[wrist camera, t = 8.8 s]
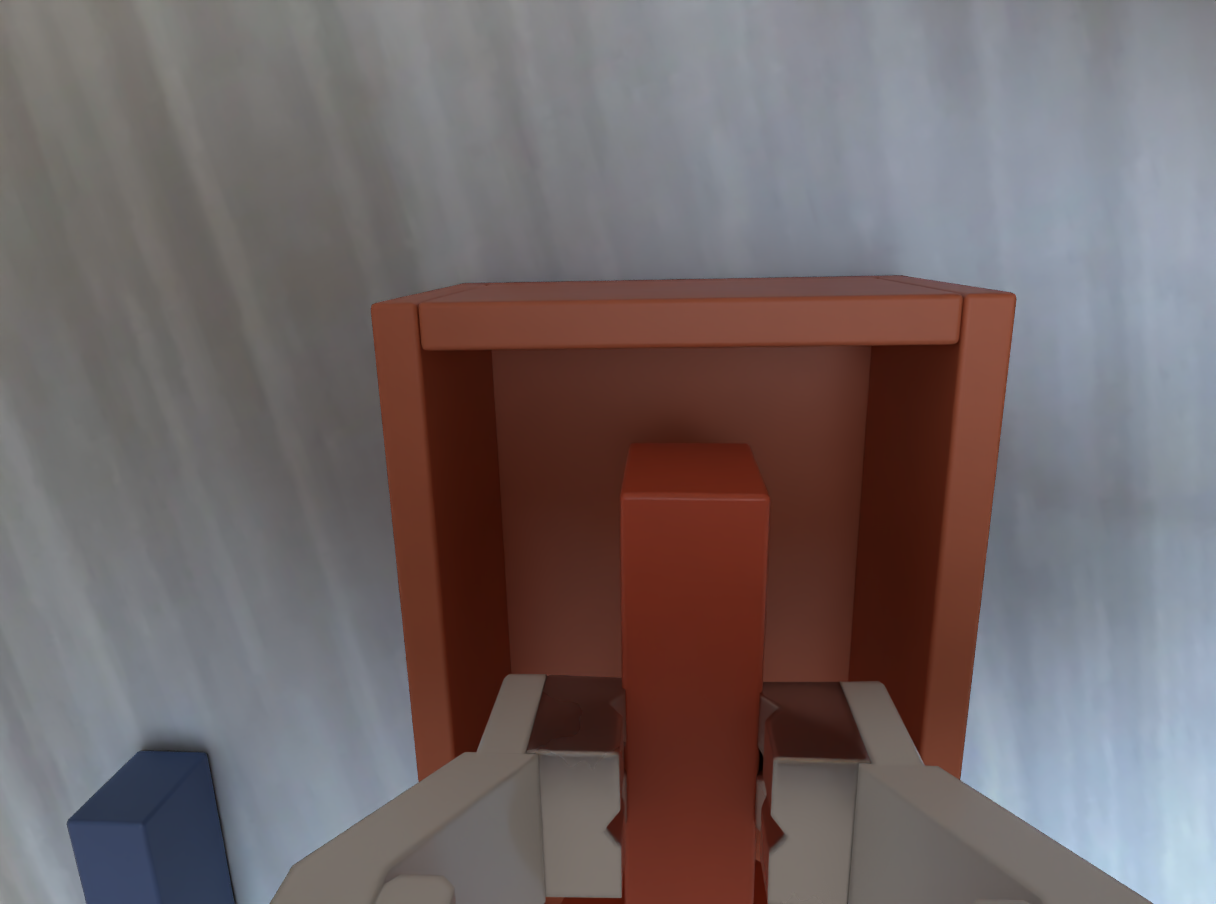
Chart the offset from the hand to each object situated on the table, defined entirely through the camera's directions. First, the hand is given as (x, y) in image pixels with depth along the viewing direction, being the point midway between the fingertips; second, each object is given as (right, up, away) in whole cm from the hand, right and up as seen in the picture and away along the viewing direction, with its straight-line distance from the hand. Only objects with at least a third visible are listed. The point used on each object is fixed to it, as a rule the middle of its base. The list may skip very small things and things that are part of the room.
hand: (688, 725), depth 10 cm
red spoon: (0, -1, +2) cm, 3 cm away
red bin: (0, 0, +6) cm, 6 cm away
